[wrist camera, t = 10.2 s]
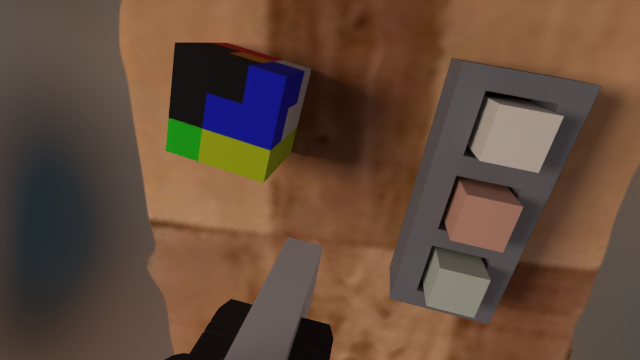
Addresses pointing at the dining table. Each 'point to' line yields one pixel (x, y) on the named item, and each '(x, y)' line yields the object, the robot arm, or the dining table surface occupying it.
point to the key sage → (454, 281)
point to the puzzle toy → (234, 107)
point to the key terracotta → (481, 213)
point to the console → (482, 174)
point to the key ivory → (513, 133)
